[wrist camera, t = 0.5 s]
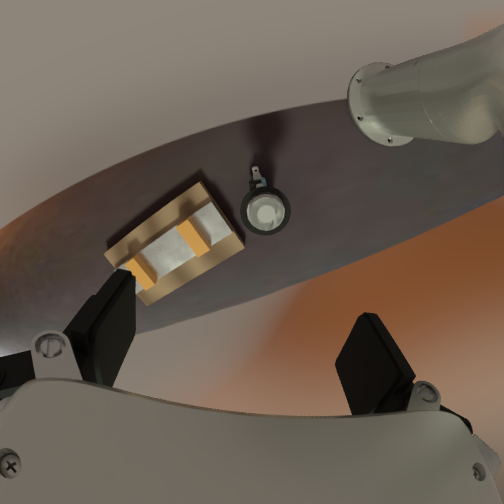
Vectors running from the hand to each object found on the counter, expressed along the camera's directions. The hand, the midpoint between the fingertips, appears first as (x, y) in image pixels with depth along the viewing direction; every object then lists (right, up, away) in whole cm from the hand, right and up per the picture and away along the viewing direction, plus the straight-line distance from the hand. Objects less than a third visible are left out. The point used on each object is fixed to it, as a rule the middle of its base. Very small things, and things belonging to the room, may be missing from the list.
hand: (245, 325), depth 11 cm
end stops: (-12, +3, +28) cm, 30 cm away
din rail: (-12, +3, +28) cm, 31 cm away
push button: (+1, +11, +27) cm, 29 cm away
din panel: (-12, +4, +30) cm, 32 cm away
